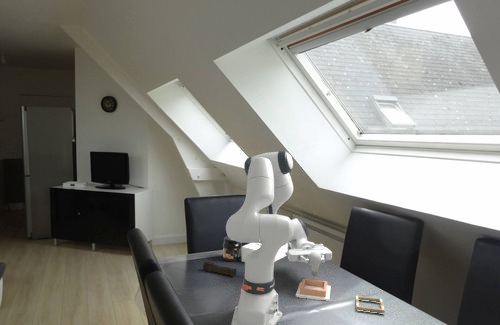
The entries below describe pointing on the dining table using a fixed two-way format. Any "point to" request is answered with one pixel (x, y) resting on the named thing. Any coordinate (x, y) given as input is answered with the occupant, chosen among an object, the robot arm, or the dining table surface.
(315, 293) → the socket
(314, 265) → the lightbulb
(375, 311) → the square wooden frame
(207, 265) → the hand tool
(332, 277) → the dining table surface
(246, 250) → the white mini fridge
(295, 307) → the dining table surface
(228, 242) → the supplement container
